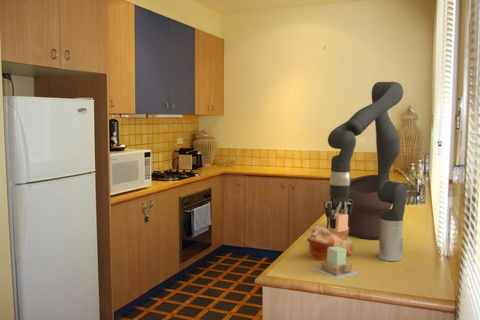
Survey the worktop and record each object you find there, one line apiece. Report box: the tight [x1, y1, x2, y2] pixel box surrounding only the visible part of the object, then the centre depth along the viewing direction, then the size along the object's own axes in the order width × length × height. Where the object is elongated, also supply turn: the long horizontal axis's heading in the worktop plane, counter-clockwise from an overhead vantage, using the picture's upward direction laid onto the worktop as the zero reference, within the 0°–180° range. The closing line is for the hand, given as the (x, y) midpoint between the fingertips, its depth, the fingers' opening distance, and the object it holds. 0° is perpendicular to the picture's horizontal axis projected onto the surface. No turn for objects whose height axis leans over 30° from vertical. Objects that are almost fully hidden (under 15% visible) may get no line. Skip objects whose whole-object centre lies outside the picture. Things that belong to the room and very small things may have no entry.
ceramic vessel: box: [306, 225, 354, 262], centre depth 196 cm, size 14×26×15 cm, turn 135°
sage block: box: [327, 246, 347, 267], centre depth 176 cm, size 5×5×6 cm
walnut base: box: [320, 261, 353, 276], centre depth 177 cm, size 8×8×3 cm
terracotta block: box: [329, 213, 348, 232], centre depth 175 cm, size 5×5×6 cm
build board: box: [313, 267, 359, 280], centre depth 177 cm, size 12×12×1 cm
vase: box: [348, 174, 393, 240], centre depth 234 cm, size 27×27×30 cm
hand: (338, 227), depth 175 cm, fingers closed on terracotta block, 5 cm apart
